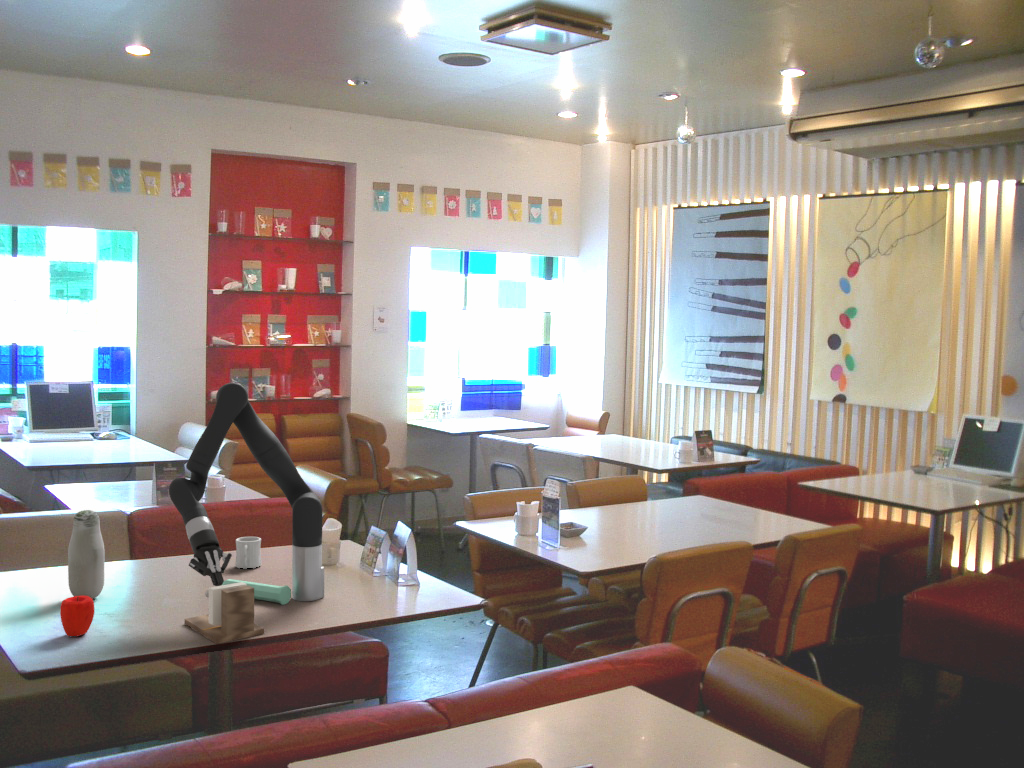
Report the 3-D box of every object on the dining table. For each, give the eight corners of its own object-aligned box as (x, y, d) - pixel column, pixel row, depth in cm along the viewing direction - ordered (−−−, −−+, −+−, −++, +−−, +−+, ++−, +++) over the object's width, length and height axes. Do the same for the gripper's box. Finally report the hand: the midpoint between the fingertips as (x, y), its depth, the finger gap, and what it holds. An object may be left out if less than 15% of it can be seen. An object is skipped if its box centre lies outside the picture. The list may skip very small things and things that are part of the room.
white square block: (242, 616, 277) (242, 581, 276) (246, 618, 275) (246, 584, 274) (208, 622, 270) (208, 587, 270) (213, 625, 268) (213, 589, 267)
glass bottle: (61, 601, 299) (60, 511, 297) (87, 593, 309) (86, 506, 307) (86, 605, 295) (85, 514, 294) (111, 596, 305) (110, 509, 303)
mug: (237, 563, 350) (237, 536, 349) (263, 563, 351) (263, 536, 350) (231, 572, 338) (231, 544, 337) (258, 571, 339) (258, 543, 338)
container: (215, 593, 308) (277, 603, 297) (220, 575, 309) (282, 584, 298) (227, 596, 313) (288, 606, 302) (232, 578, 314) (293, 587, 303)
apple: (88, 640, 263) (87, 601, 262) (55, 640, 262) (54, 601, 262) (99, 630, 272) (99, 592, 271) (67, 630, 271) (67, 592, 270)
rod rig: (230, 615, 288) (230, 570, 287) (264, 633, 271) (264, 586, 270) (184, 624, 278) (184, 577, 278) (216, 643, 262) (216, 594, 261)
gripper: (183, 531, 278) (201, 581, 270) (227, 525, 287) (245, 574, 278) (176, 545, 282) (193, 596, 274) (219, 540, 291) (237, 588, 283)
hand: (219, 585), depth 276 cm, fingers closed
